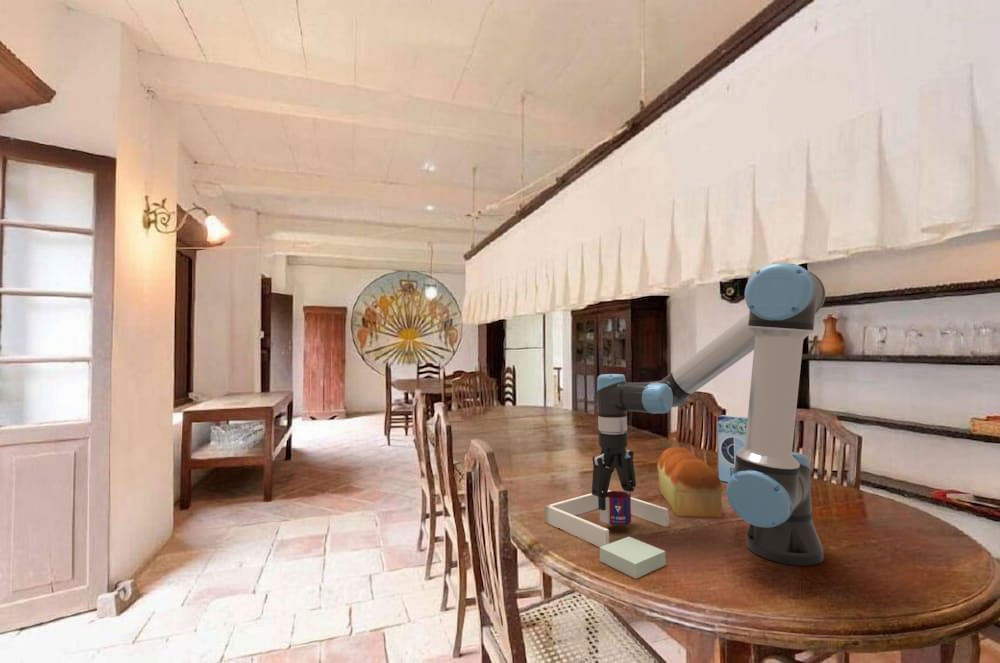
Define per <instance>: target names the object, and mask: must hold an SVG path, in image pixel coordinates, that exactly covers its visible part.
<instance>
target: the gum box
mask: <svg viewBox="0 0 1000 663" xmlns="http://www.w3.org/2000/svg"><path fill="white" fill-rule="evenodd" d="M716 419H717V421H716V422H717V454H718V455H717V457H718V464H717V465H718V477H719V479H720V482H721V481H722V482H726V483H728V482H729V480H730V477H731V476H732V475H734V470H735V461H736V452H737V451H738V450H739V449H741V448H743V447H744V446H745V440H746V429H747V419H748V416H747V417H746V416H737V415H726V414H722V415H717V417H716Z"/></svg>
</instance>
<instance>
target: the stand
mask: <svg viewBox="0 0 1000 663" xmlns="http://www.w3.org/2000/svg"><path fill="white" fill-rule="evenodd" d="M598 549H599V562H601V563H602V564H604V565H607V566H609V567H611V568H613V569H615V570H617V571H619V572H621V573H623V574H625V575H627V576H629V577H631V578H633V579H639V578H641V577H644V576H645V575H647V574H649V573H652V572H653V571H657V570H658V569H660V568H662V567H665V566H666V563H667V562H666V551H665V550H663V549H661V548H658V547H656V546H654V545H652V544H649V543H646V542H644V541H642V540H639V539H637V538H636V539H635V538H634V537H631V536H626V537H623V538H622V539H621V538H620V539H619V540H616V541H613V542H609V544H607V545H605V546H602V547H598Z"/></svg>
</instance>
